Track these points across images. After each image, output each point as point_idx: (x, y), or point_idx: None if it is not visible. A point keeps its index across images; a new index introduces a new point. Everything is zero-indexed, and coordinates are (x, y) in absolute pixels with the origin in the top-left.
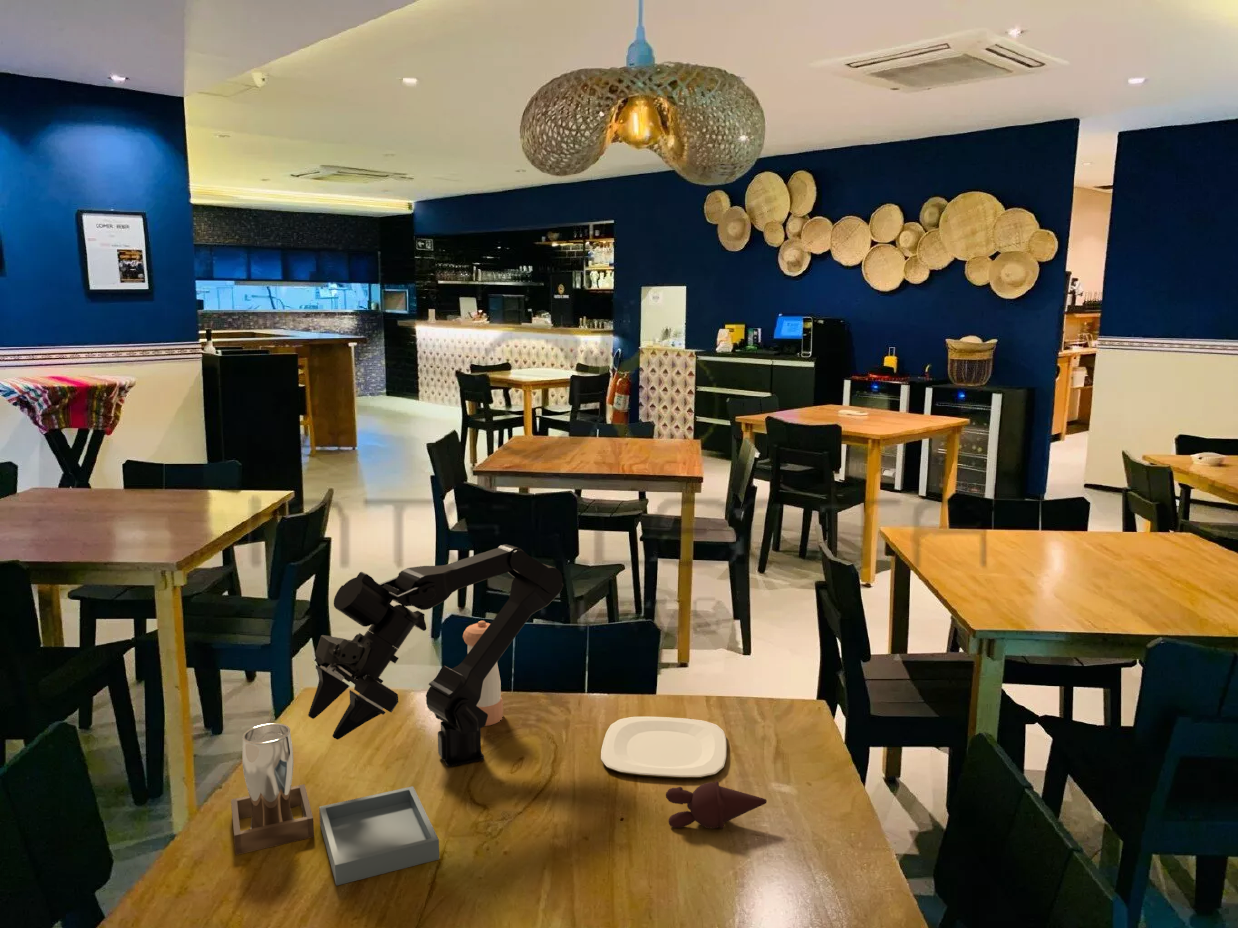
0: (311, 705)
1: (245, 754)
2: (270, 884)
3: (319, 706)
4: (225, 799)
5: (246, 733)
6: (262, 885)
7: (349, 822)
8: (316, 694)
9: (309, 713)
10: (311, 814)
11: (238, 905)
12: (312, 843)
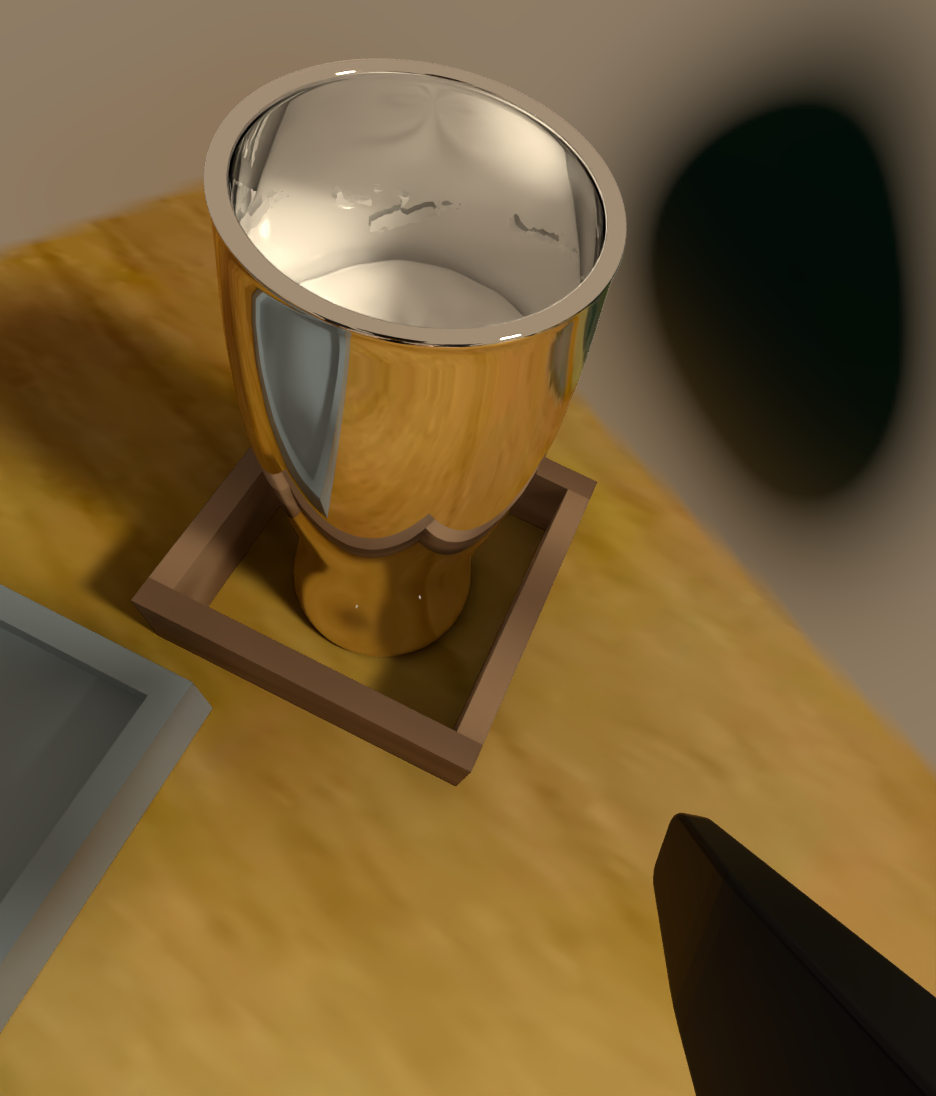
0: (795, 891)
1: (416, 163)
2: (57, 375)
3: (725, 992)
4: (724, 579)
5: (557, 134)
6: (80, 361)
7: (31, 779)
8: (930, 1027)
9: (698, 824)
10: (167, 614)
11: (66, 278)
12: (124, 602)
